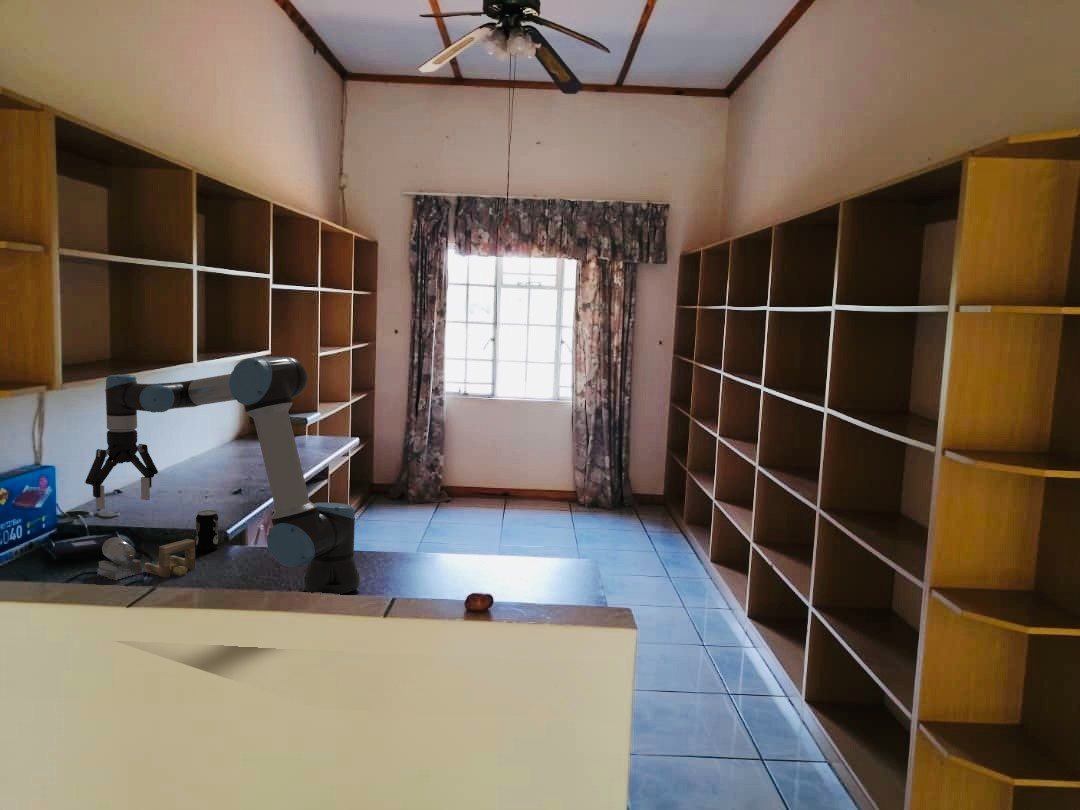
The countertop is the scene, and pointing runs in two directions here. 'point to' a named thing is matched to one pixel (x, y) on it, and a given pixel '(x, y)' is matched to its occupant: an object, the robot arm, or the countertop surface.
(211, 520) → the beverage can
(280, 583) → the countertop surface
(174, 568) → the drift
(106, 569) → the v block
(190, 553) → the tan wooden angular frame
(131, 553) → the grey rounded piece
